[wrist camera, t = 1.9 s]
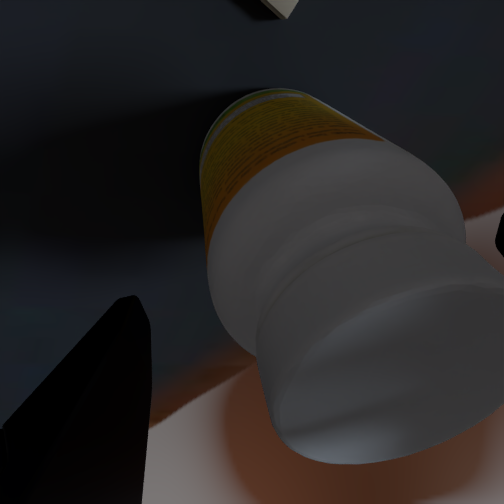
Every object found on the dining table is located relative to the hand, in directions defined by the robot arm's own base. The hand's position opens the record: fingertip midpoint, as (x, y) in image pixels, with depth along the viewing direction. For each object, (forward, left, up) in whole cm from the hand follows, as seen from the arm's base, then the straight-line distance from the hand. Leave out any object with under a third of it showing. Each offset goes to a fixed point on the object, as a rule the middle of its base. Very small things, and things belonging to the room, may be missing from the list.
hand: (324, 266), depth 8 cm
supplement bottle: (0, 0, -6) cm, 6 cm away
